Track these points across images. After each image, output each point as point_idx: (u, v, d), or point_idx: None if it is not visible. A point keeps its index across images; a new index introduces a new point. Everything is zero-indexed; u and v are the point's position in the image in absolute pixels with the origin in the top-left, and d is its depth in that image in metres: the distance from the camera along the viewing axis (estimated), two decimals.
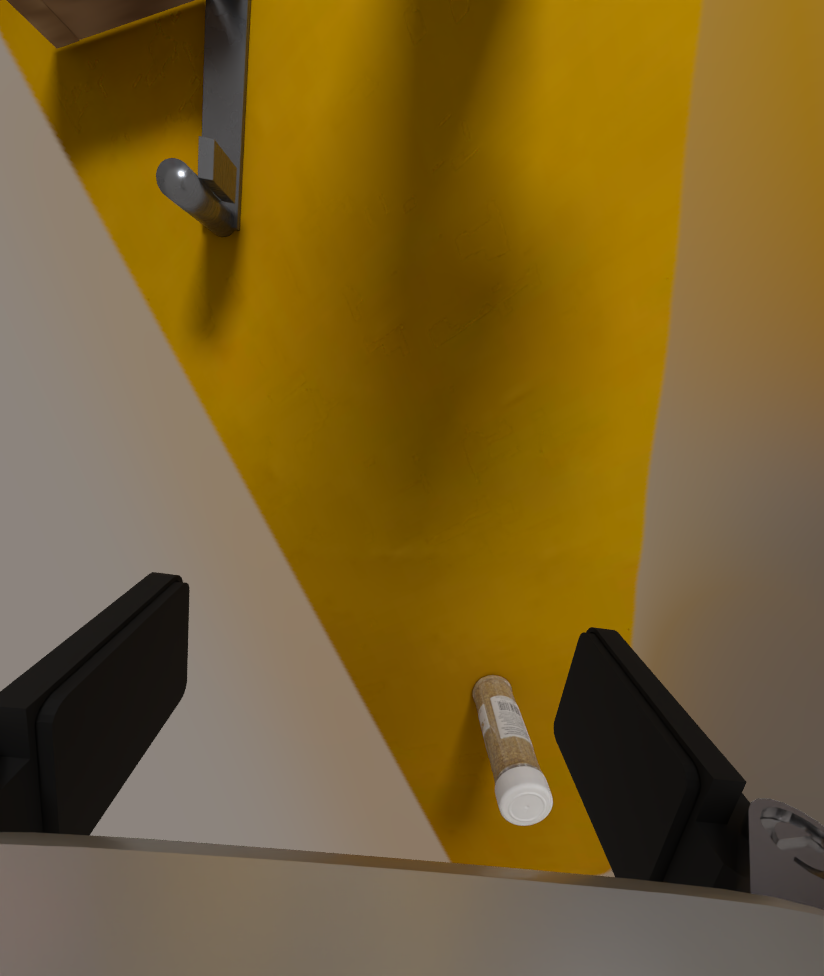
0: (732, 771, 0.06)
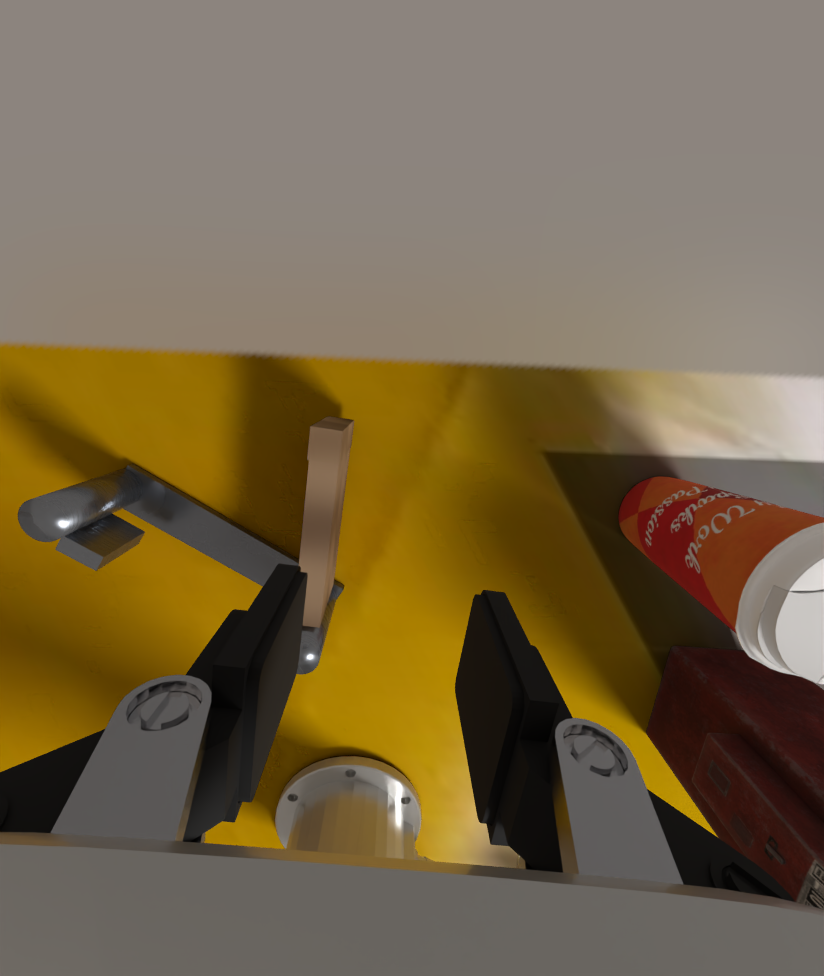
0: (550, 696, 0.07)
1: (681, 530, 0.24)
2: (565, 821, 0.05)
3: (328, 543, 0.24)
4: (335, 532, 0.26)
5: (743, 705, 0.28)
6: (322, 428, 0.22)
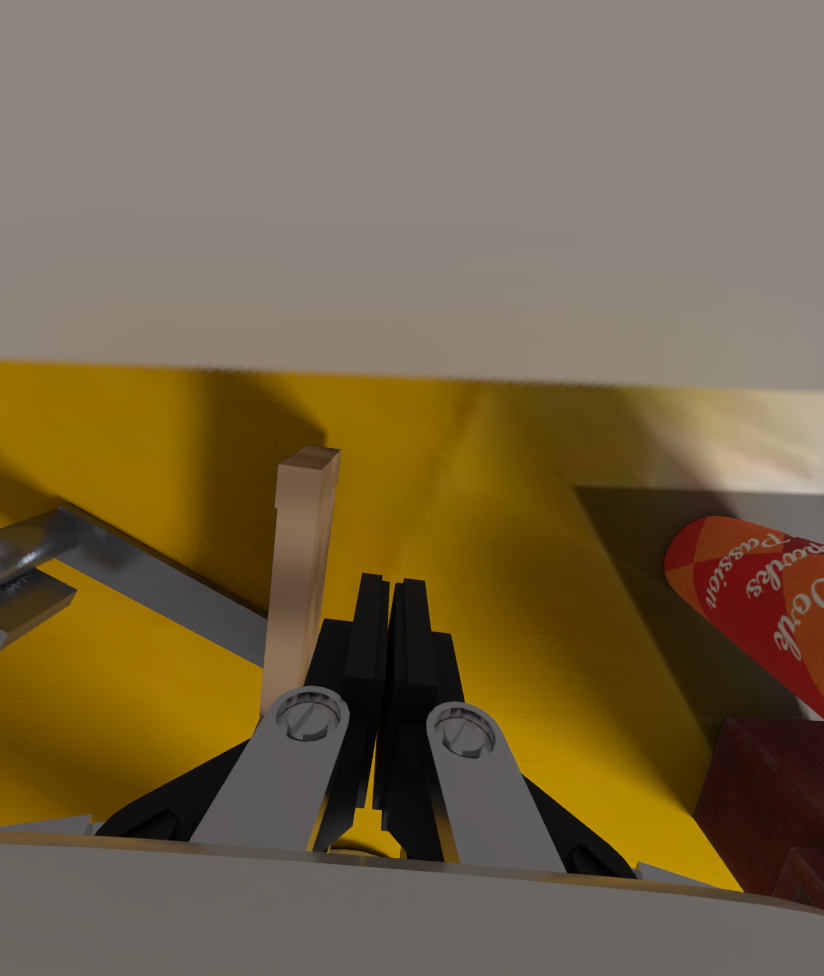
0: (431, 679, 0.07)
1: (763, 596, 0.18)
2: (445, 823, 0.05)
3: (304, 613, 0.18)
4: (316, 592, 0.21)
5: None
6: (294, 467, 0.16)
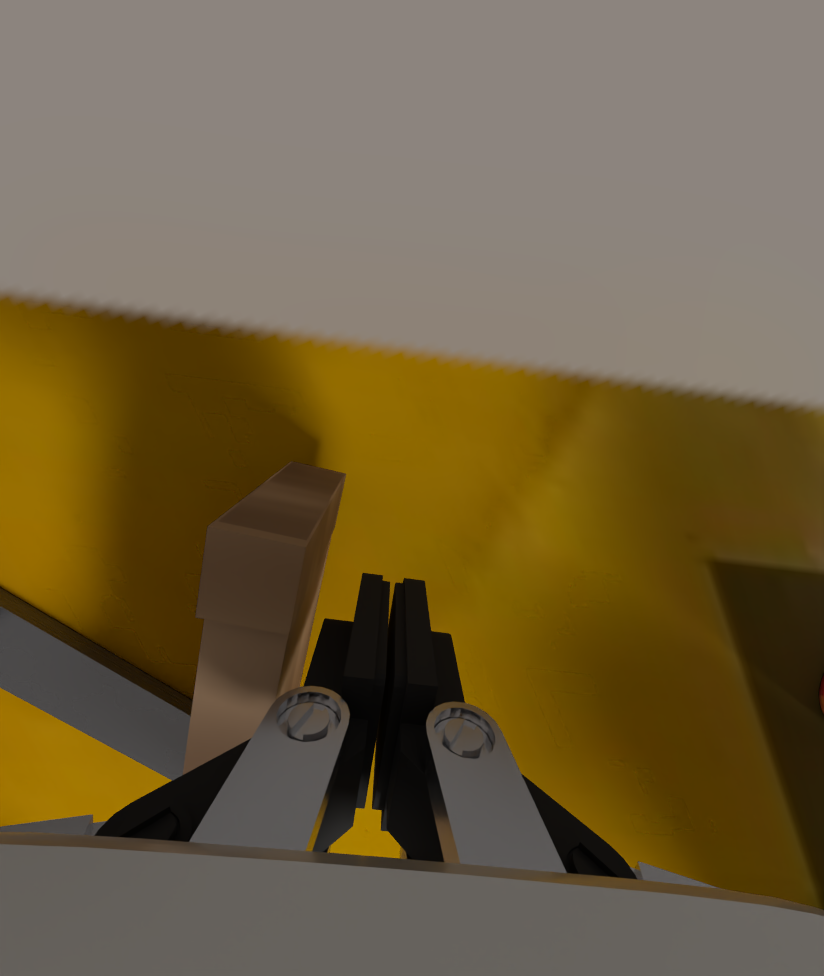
0: (431, 679, 0.07)
1: None
2: (445, 822, 0.05)
3: None
4: None
5: None
6: (245, 534, 0.07)
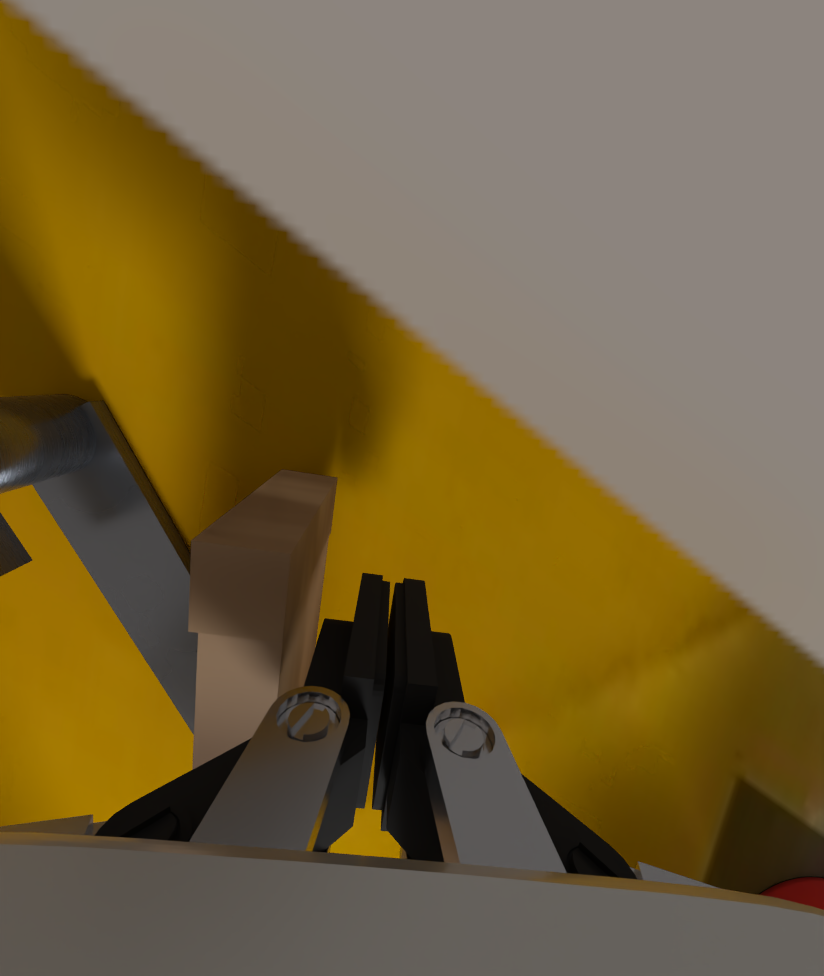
0: (431, 679, 0.07)
1: None
2: (445, 822, 0.05)
3: None
4: None
5: None
6: (229, 546, 0.07)
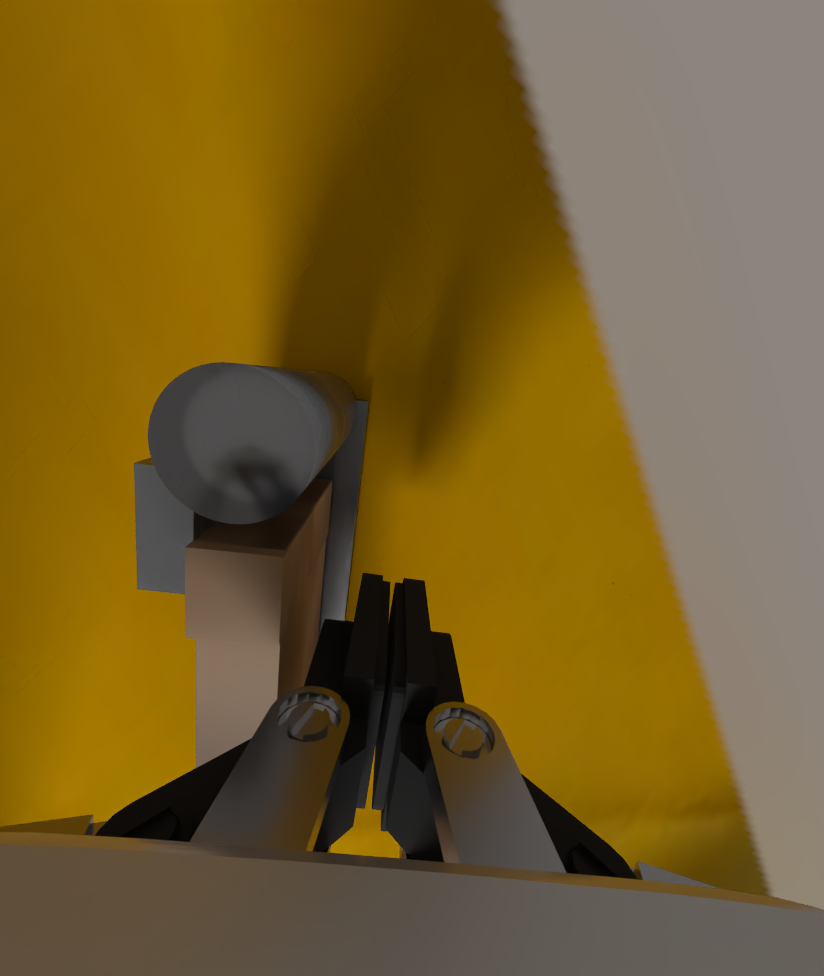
0: (431, 679, 0.07)
1: None
2: (445, 823, 0.05)
3: None
4: None
5: None
6: (222, 551, 0.07)
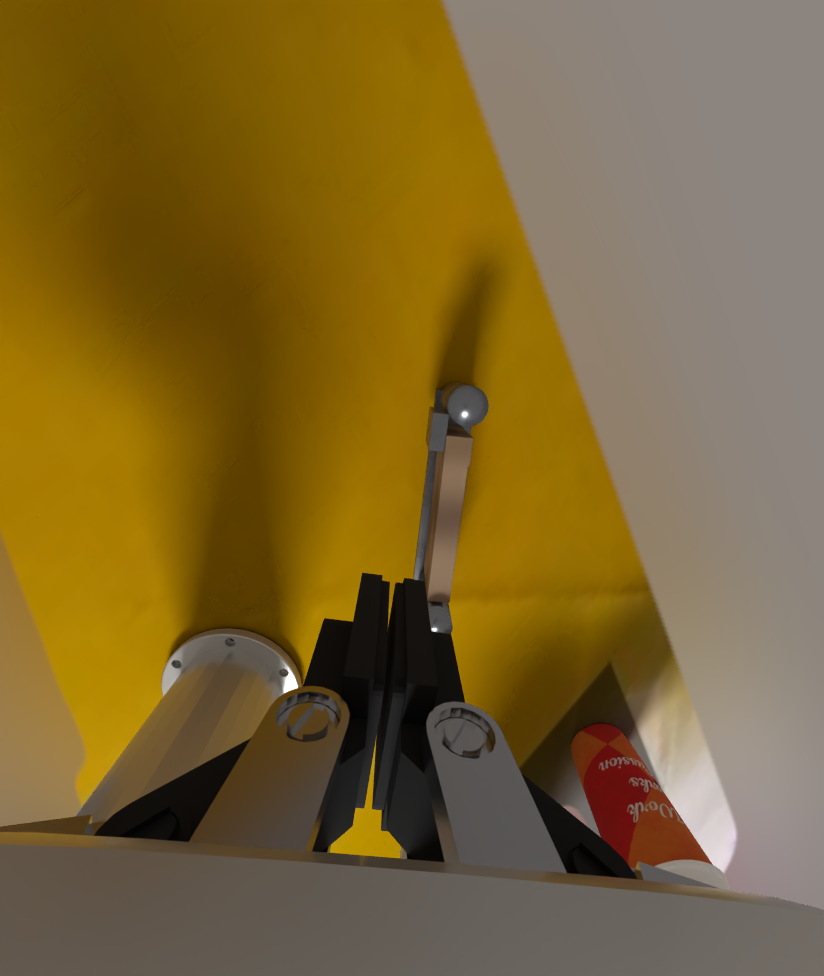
0: (431, 679, 0.07)
1: (637, 788, 0.35)
2: (445, 823, 0.05)
3: (458, 531, 0.29)
4: None
5: None
6: (456, 437, 0.26)
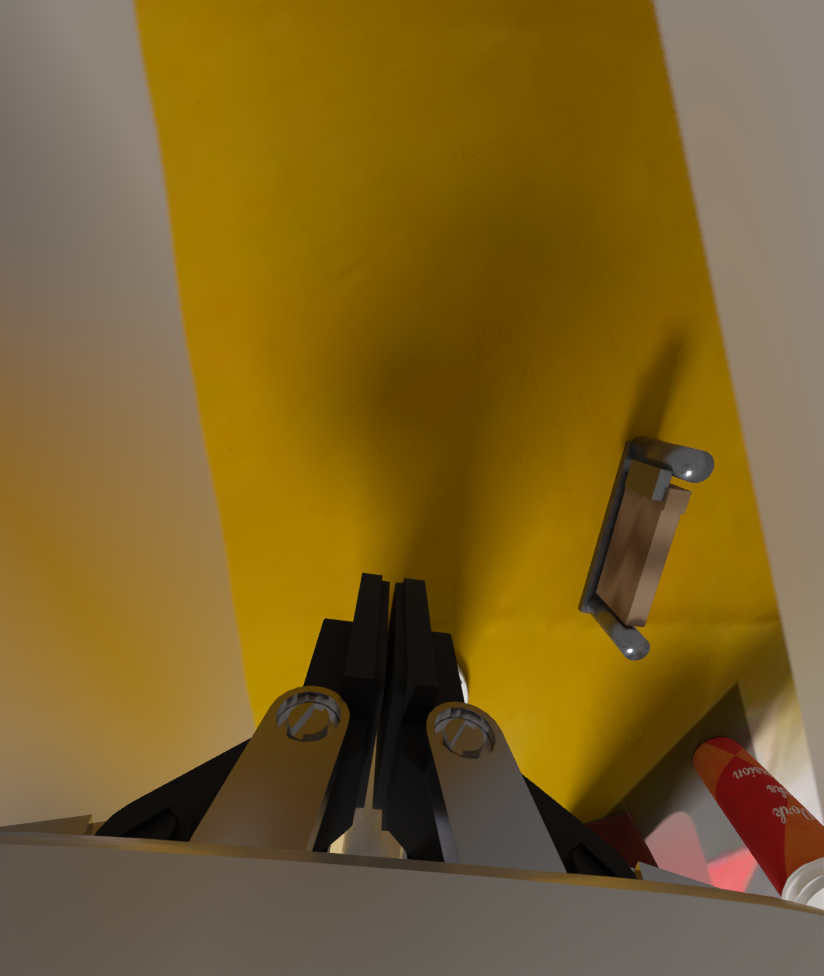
0: (432, 679, 0.07)
1: (776, 794, 0.40)
2: (445, 823, 0.05)
3: (662, 567, 0.34)
4: None
5: None
6: (677, 490, 0.32)
